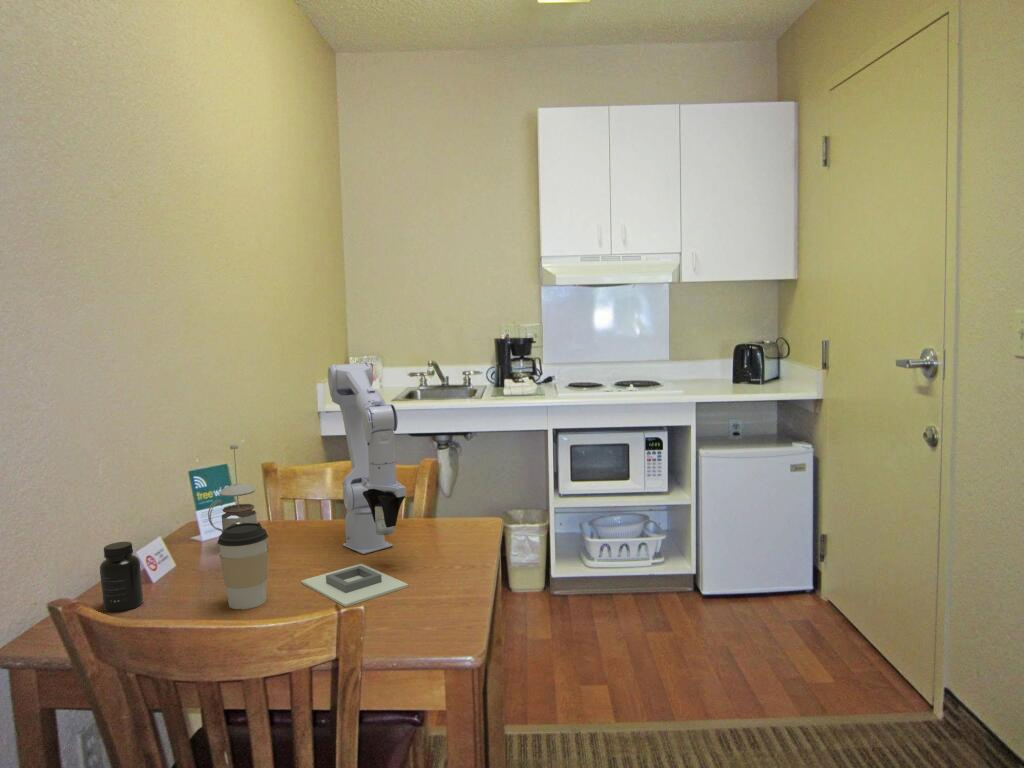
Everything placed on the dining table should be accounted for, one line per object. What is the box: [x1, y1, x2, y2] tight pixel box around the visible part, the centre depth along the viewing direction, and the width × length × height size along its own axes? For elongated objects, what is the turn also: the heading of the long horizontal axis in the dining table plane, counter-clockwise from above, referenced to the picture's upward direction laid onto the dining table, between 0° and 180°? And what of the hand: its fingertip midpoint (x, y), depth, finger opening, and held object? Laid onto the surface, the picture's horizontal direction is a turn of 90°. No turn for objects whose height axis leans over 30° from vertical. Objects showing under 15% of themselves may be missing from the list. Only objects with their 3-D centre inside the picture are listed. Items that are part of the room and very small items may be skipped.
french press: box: [207, 443, 258, 534], centre depth 175 cm, size 10×12×25 cm
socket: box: [300, 563, 409, 608], centre depth 150 cm, size 18×14×2 cm
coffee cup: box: [217, 522, 269, 611], centre depth 142 cm, size 9×9×15 cm
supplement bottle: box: [99, 541, 144, 613], centre depth 142 cm, size 7×7×12 cm
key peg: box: [375, 503, 396, 536], centre depth 160 cm, size 4×4×6 cm
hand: (385, 524), depth 160 cm, fingers closed on key peg, 4 cm apart
